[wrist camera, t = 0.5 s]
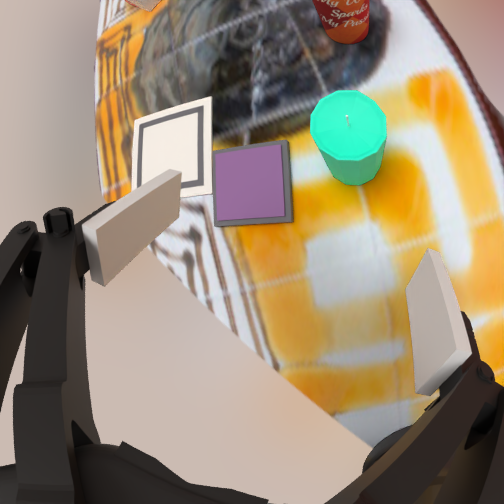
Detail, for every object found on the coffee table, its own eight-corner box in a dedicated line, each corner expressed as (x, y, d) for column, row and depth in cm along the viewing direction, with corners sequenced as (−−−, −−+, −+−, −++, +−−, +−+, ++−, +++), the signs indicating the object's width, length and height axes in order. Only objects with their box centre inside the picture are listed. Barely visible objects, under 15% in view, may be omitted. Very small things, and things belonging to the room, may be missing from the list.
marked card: (213, 193, 36) (211, 193, 35) (133, 205, 40) (131, 204, 40) (212, 97, 35) (210, 96, 35) (136, 120, 40) (134, 119, 40)
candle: (352, 197, 30) (346, 173, 19) (314, 157, 31) (287, 116, 20) (392, 161, 28) (406, 119, 17) (353, 122, 30) (344, 66, 18)
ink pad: (293, 222, 33) (290, 221, 31) (218, 226, 36) (212, 226, 34) (288, 142, 32) (285, 138, 31) (216, 153, 36) (210, 150, 34)
